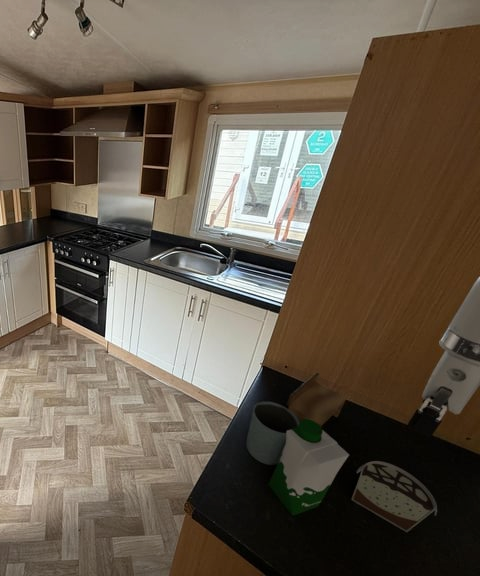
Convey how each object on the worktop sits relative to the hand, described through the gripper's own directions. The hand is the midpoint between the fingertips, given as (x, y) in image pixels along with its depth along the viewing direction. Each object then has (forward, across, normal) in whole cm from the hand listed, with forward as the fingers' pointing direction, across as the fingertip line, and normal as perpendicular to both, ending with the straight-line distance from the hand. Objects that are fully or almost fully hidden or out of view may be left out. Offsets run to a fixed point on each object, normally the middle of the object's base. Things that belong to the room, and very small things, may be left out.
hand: (425, 418), depth 59 cm
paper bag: (+26, +12, +18) cm, 34 cm away
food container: (+26, 0, -1) cm, 26 cm away
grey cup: (+26, -8, +21) cm, 34 cm away
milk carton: (+26, -14, +11) cm, 31 cm away
